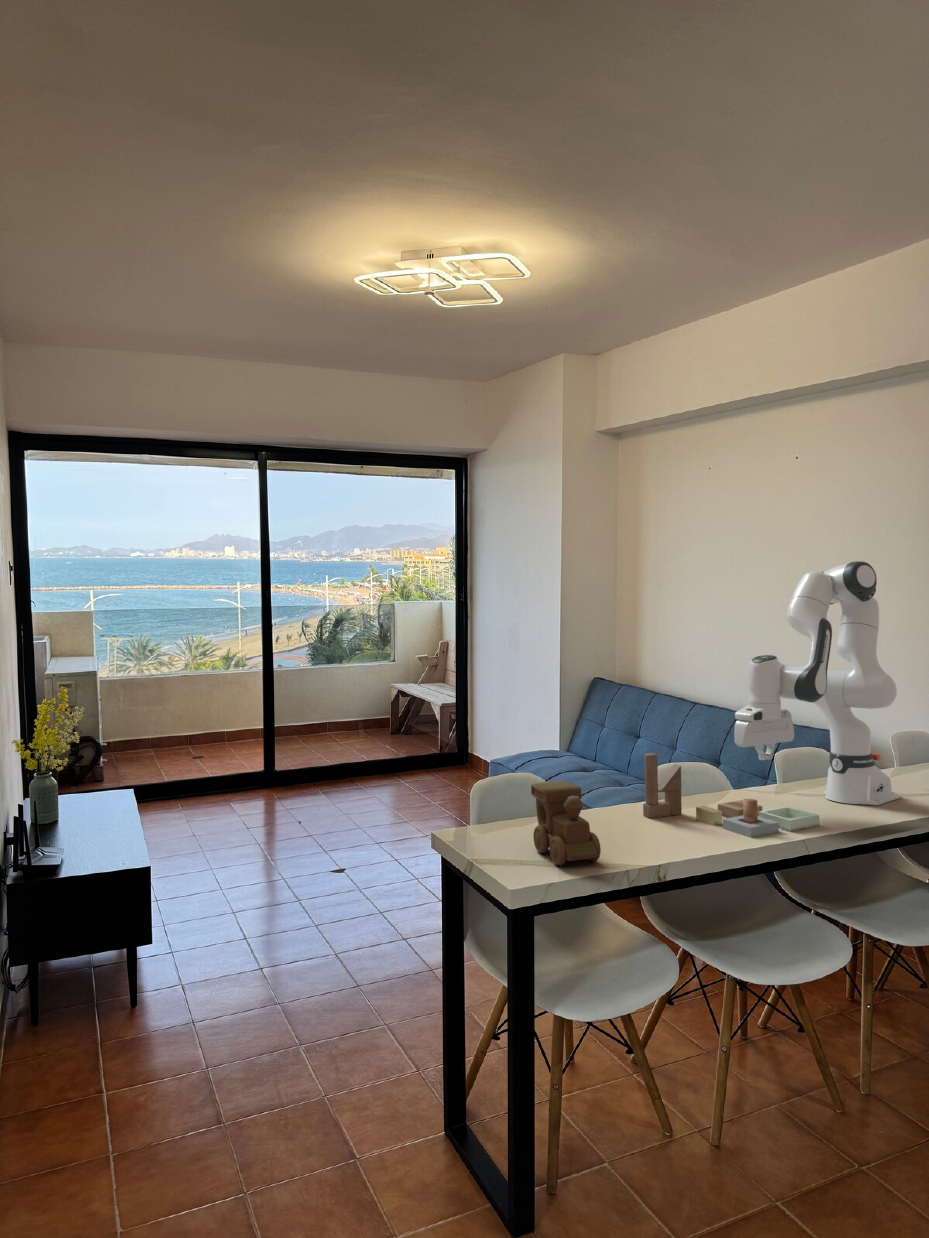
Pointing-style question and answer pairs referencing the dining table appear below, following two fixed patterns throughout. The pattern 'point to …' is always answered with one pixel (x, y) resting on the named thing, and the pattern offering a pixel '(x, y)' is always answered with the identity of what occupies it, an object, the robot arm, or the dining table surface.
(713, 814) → the olive green block
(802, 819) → the tray
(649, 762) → the wooden block
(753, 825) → the socket block
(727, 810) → the brown flat block
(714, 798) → the dining table surface
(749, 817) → the dowel
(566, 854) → the wooden toy train
